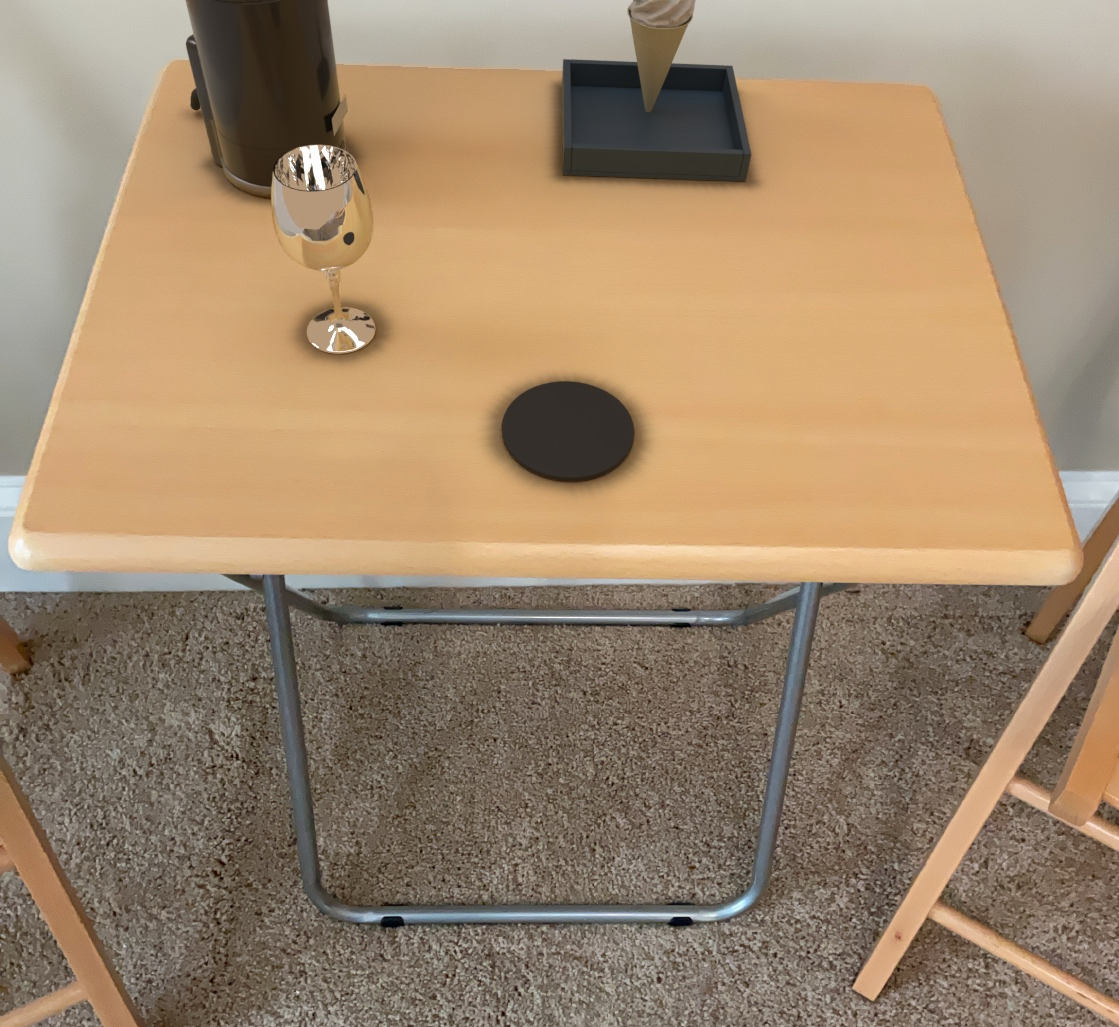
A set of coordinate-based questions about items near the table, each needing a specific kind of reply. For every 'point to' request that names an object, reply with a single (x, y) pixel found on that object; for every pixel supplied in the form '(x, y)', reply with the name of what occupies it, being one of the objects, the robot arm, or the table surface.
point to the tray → (652, 123)
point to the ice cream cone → (657, 40)
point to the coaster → (567, 431)
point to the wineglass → (325, 232)
